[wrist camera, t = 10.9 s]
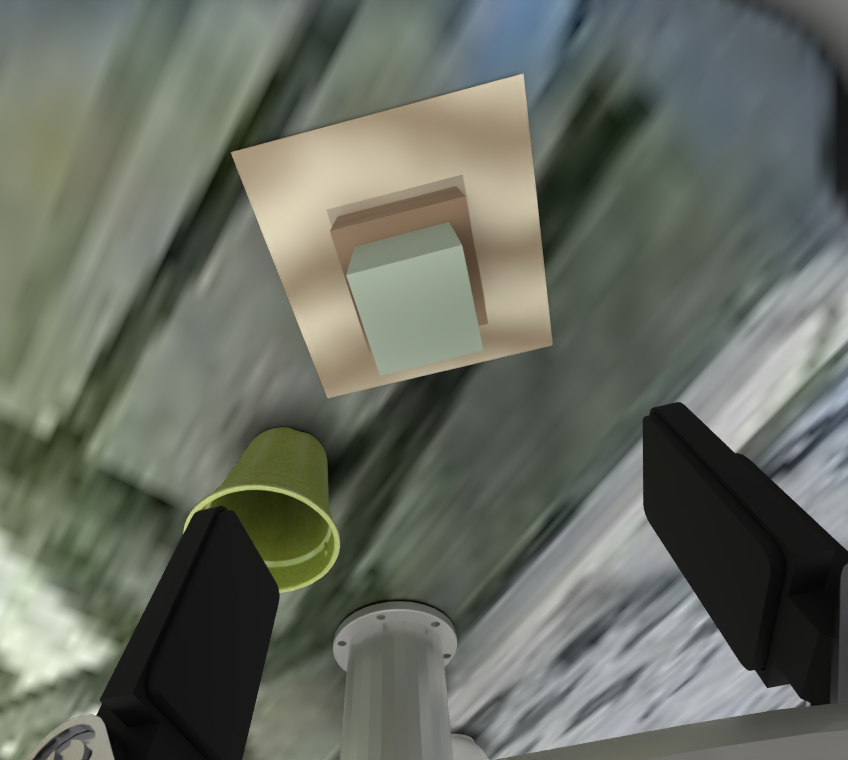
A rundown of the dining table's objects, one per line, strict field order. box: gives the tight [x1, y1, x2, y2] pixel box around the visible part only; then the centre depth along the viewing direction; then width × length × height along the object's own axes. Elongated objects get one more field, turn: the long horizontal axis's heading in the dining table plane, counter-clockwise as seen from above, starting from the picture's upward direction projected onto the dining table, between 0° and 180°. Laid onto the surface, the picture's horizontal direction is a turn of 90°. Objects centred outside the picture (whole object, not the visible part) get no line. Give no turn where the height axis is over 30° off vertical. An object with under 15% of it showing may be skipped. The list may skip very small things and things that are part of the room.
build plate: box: [231, 74, 553, 398], centre depth 29 cm, size 16×16×1 cm
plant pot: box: [183, 427, 340, 593], centre depth 33 cm, size 9×9×9 cm
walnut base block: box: [330, 186, 488, 352], centre depth 27 cm, size 7×7×4 cm
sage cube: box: [346, 222, 483, 376], centre depth 23 cm, size 5×5×5 cm
